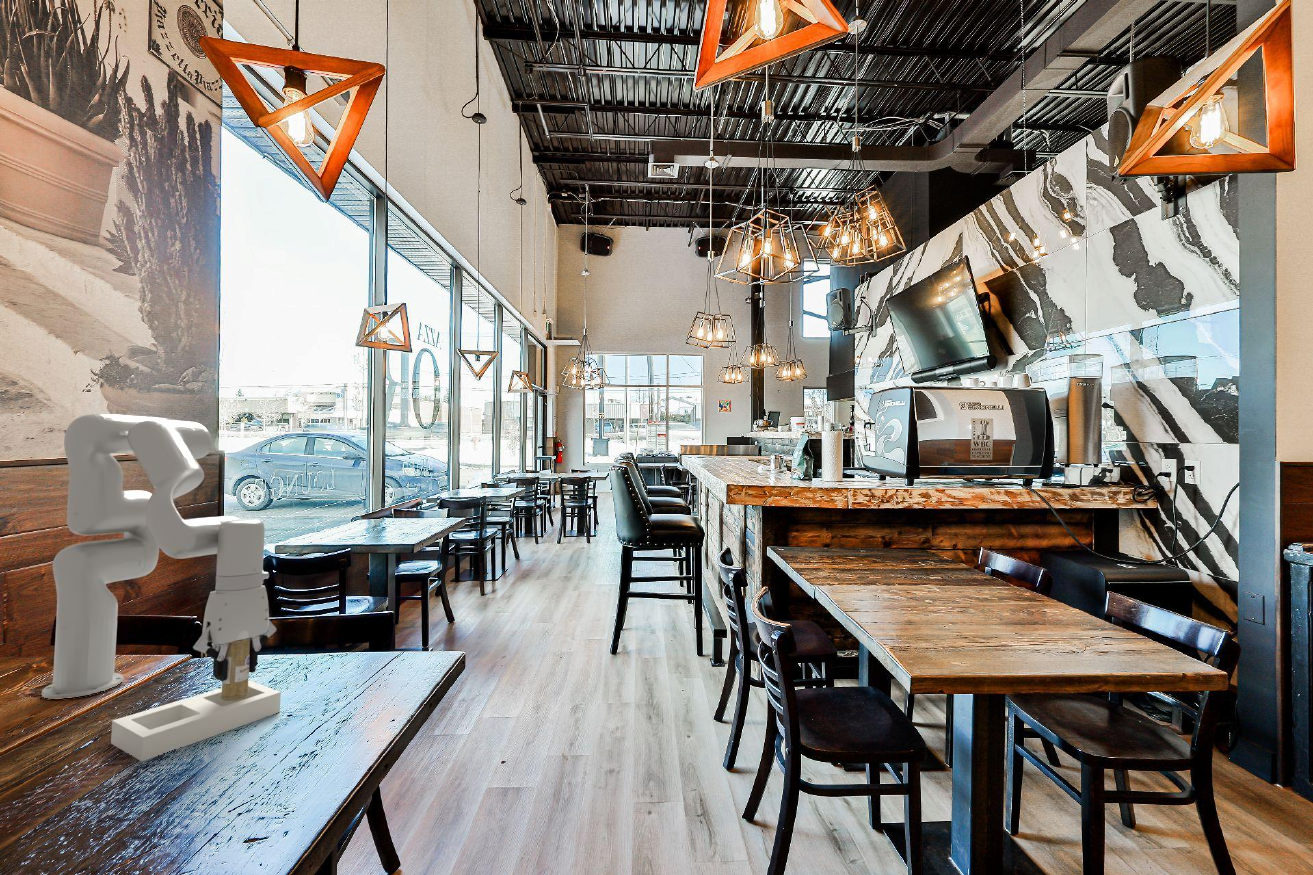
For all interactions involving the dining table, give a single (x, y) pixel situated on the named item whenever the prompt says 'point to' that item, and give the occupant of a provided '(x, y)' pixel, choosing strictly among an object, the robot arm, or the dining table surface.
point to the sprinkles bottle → (237, 668)
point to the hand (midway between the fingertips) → (235, 674)
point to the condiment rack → (191, 721)
